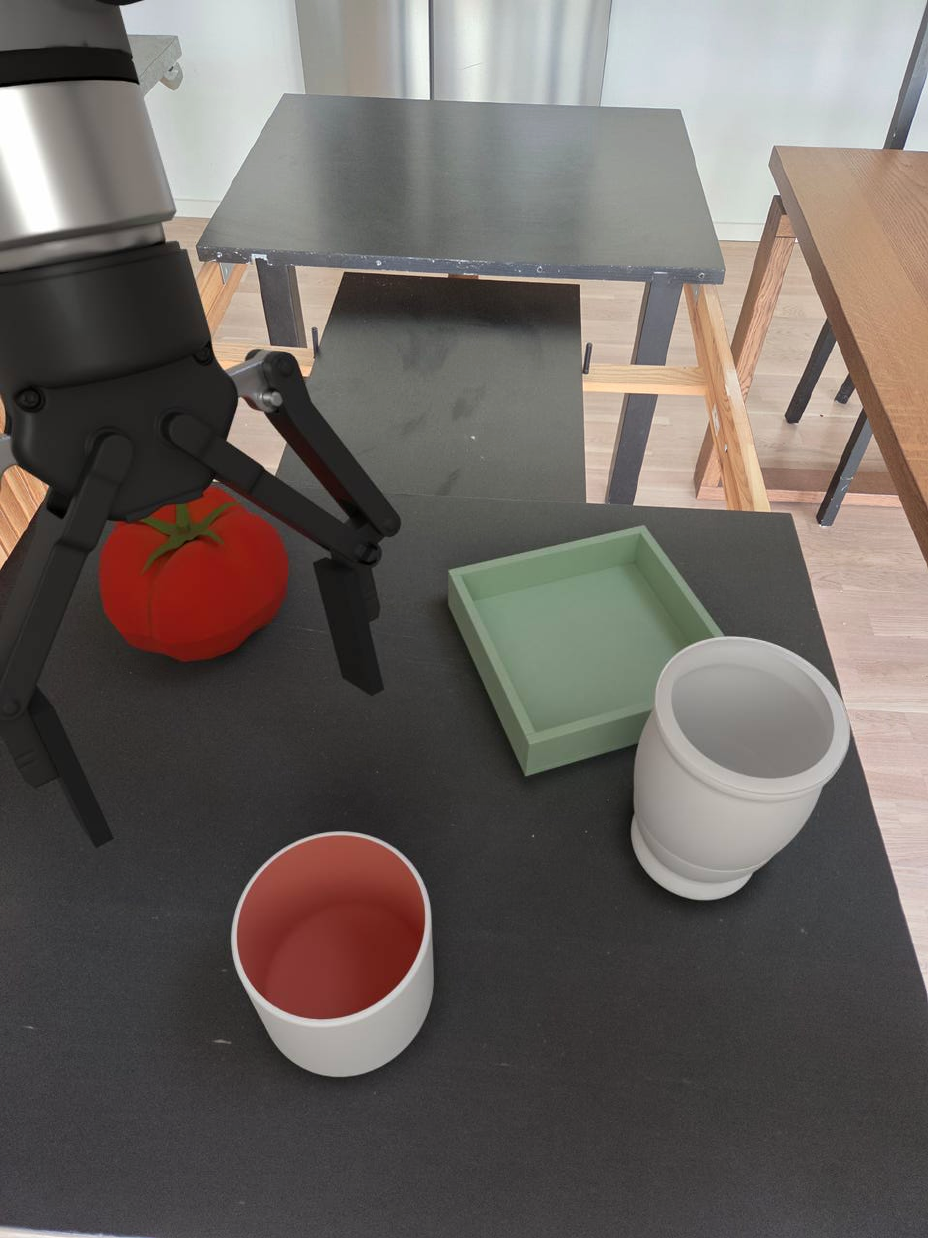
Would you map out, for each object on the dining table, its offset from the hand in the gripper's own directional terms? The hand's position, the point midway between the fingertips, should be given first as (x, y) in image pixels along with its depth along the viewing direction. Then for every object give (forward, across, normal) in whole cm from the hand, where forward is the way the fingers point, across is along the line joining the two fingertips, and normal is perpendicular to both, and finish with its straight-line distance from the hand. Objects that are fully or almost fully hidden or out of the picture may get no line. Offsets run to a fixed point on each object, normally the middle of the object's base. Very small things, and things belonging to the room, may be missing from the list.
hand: (241, 750), depth 39 cm
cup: (+20, -2, -2) cm, 20 cm away
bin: (+14, -31, -9) cm, 35 cm away
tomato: (+8, -10, -30) cm, 33 cm away
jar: (+20, -25, +6) cm, 33 cm away
